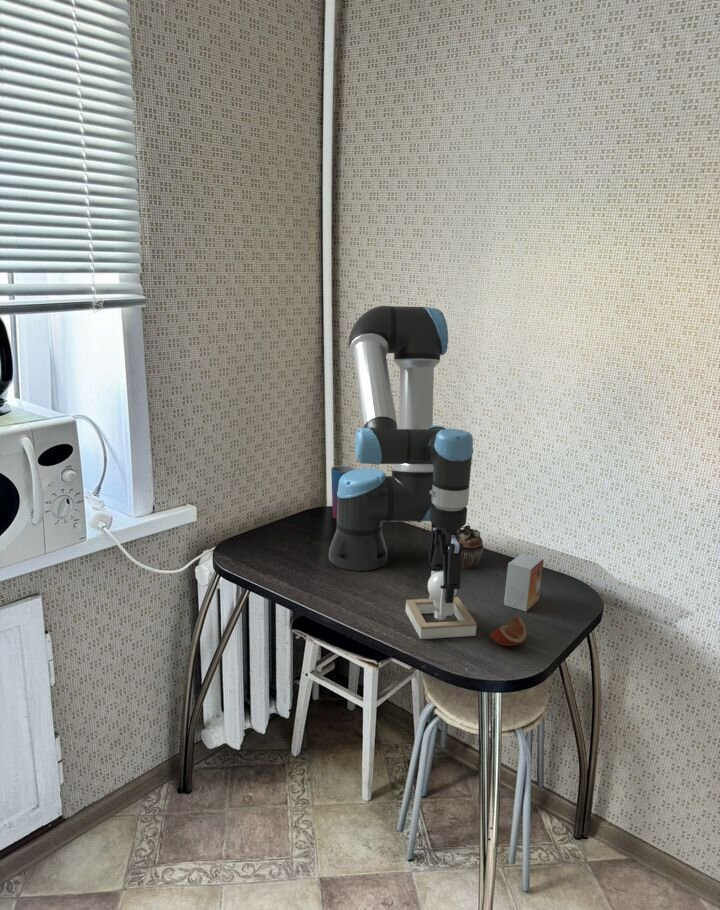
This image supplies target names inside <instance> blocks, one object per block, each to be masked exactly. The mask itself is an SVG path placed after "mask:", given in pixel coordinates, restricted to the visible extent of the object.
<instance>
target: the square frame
mask: <svg viewBox="0 0 720 910" xmlns="http://www.w3.org/2000/svg"><path fill="white" fill-rule="evenodd" d="M434 608H435V606H434V604H433V600H430V598H417V599H415V598H414V599H413V598H412V599H406V600H405V613H406V616H407V617H408V618H409V620H410V622H411V624H412V626H413V628H414V631H416V634H417V635H418V637H419V639H420V640H426V639H428V640H429V639H443V638H457V637H472V636H476V634H477V627H478V626H477V624H478V623H477V622H476V621H475V618H474V617H473V616H472V614H471V613H470V611H468V609H467V608H466V606H465V604H463V602H462V600H461V599H460V598H459V597H458V596H454V608H453V616H455V617H456V619H457V620H455V621H452V620H451V621H449V620H448V621H436V622H427V621H426V620H425V618H424V617H423V615H424V614H434V610H435V609H434ZM422 614H423V615H422Z"/></svg>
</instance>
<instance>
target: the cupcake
mask: <svg viewBox="0 0 720 910" xmlns="http://www.w3.org/2000/svg"><path fill="white" fill-rule="evenodd" d="M457 531H458V535H459V541H458V543H462V544H463V550H462V557H461V570H463V569H464V570H467V569H468V570H471V569H475V568H477V567H478V566H479V564H480V561H481V557H482V555H483V551H484V543H483V542H484V541H483V538H482V537H481V531H480V530H478V529H474V528H471V525H469V524H468V525H464V526H463V527H460V528H459V529H458V530H457ZM447 551H449V550H447Z"/></svg>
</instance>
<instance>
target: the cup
mask: <svg viewBox="0 0 720 910" xmlns="http://www.w3.org/2000/svg"><path fill="white" fill-rule="evenodd" d="M330 470H331V471H330V472H331V477H330V478H331V504H332V505H331V506H332V507H331V510H332V518H333V519H336V520H337V507H338V496H337V492H338V485H339V480H340V478H341V476H342V475H344V474H345V473H347V472H349V471H352V470H355V468H354V467H353V466H349V465H334V466H332V467H331V469H330Z"/></svg>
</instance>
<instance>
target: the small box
mask: <svg viewBox="0 0 720 910" xmlns="http://www.w3.org/2000/svg"><path fill="white" fill-rule="evenodd" d="M544 561H545V560H544V559H543V558H541V557H538V556H534V555H531V554H527V553H523V552H521V553H519V555H518V556H516V557H515V558H513V559H512V560H511V561H509V562H508V564H507V571H506V581H505V589H504V599H503V600H504V601H503V605H504V606H506V607H510V608H513V609H516V610H519V611H523V612H525V613H526V612H527V611H529V609H531V607H532V606H534V605H535V604H536V603H537V602H538V601H539V600H540V592H541V591H540V590H541V586H542V585H541V584H542V576H543V567H544Z"/></svg>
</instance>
